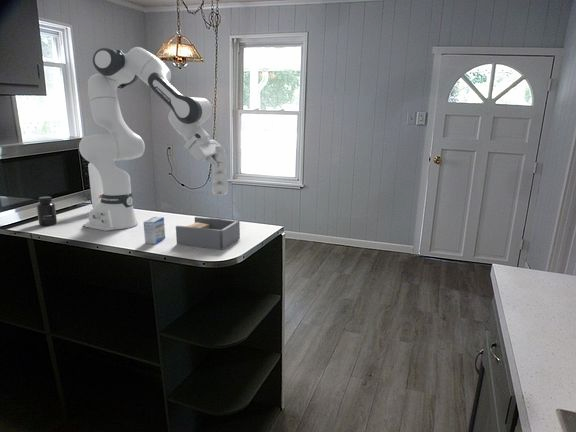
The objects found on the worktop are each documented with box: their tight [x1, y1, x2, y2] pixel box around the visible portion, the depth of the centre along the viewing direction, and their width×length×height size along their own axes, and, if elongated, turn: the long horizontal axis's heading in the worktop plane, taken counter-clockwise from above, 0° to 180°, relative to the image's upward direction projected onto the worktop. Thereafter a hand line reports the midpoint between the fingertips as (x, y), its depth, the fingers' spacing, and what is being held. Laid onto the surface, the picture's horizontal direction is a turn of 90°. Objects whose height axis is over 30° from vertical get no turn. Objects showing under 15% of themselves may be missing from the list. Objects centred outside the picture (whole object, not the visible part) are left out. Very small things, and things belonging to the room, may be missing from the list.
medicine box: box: [143, 216, 166, 245], centre depth 156 cm, size 8×4×9 cm, turn 170°
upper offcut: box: [186, 222, 209, 229], centre depth 158 cm, size 6×9×3 cm, turn 153°
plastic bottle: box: [211, 145, 229, 196], centre depth 168 cm, size 6×7×20 cm
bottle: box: [87, 162, 103, 209], centre depth 197 cm, size 8×8×28 cm
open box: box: [175, 216, 241, 250], centre depth 156 cm, size 19×15×7 cm
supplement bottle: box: [36, 195, 58, 227], centre depth 176 cm, size 7×7×12 cm
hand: (221, 165), depth 167 cm, fingers closed on plastic bottle, 6 cm apart
